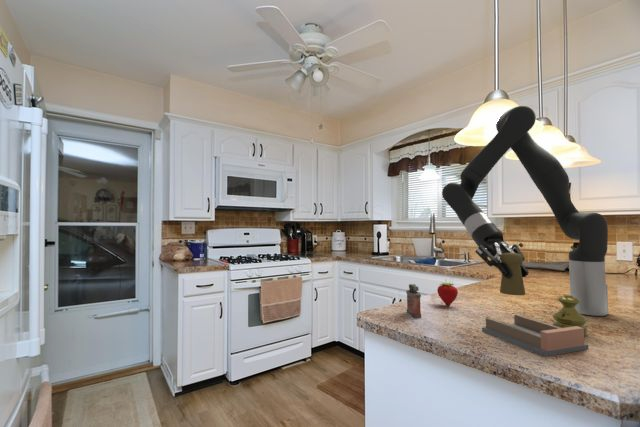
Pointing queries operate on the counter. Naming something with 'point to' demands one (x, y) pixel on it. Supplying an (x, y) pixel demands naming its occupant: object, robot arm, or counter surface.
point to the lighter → (413, 301)
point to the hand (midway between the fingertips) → (517, 275)
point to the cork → (515, 282)
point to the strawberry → (447, 293)
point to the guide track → (538, 335)
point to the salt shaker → (569, 314)
